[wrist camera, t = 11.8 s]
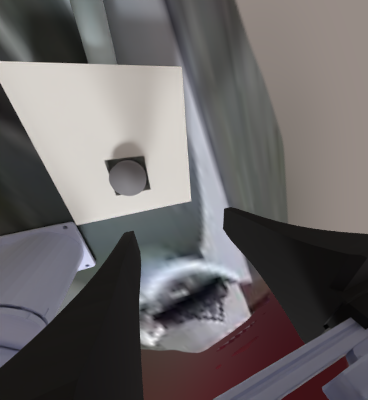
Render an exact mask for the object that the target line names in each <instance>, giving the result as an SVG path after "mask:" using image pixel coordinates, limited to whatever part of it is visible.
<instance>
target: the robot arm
mask: <svg viewBox="0 0 368 400" xmlns="http://www.w3.org/2000/svg"><path fill="white" fill-rule="evenodd" d="M64 226H67V227H68V228H66V227H64ZM223 229H224V231H225V232H226V234H227V235H228V237H229V238H230V240H231V241H232V242H233V243H234V244H235V245H236V246H237V248H238V249H239V250H240V251H241V252H242V253H243V254H244V255H245V256H246V258H247V259H248V260H249V261H250V262H251V263H252V265H253V266H254V267H255V268H256V270H257V271H258V273H259V274H260V275H261V277H262V278H263V279H264V281H265V282H266V284H267V285H268V287H269V288H270V289H271V291H272V292H273V294H274V295H275V297H276V299H277V300H278V301H279V303H280V305H281V306H282V308H283V309H284V311H285V313H286V314H287V316H288V317H289V319H290V321H291V322H292V324H293V326H294V327H295V329H296V331H297V332H298V334H299V336H300V338H301V339H302V340H303V341H304V343H305V345H304V346H302V347H300V348H299V349H297V350H295V351H294V352H292V353H290V354H288V355H287V356H285V357H283V358H282V359H280V360H278V361H277V362H275V363H273V364H272V365H270V366H268V367H267V368H265V369H263V370H262V371H260V372H258V373H257V374H255V375H253V376H252V377H250V378H248V379H247V380H245V381H243V382H242V383H240V384H238V385H236V386H235V387H233V388H232V389H230V390H228V391H226V392H225V393H223V394H221V395H220V396H218V397H216V398H215V399H213V400H280V399H281V398H283V397H285V396H286V395H287V394H289V393H290V392H292V391H293V390H295V389H296V388H298V387H299V386H301V385H302V384H304V383H305V382H307V381H308V380H310V379H311V378H312V377H314V376H315V375H317V374H318V373H320V372H321V371H322V370H324V369H326V368H327V367H328V366H330V365H331V364H333V363H334V362H336V361H337V360H339V359H340V358H342V357H343V356H345V355H346V359H347V361H348V363H349V367H348V368H347V369H346V370H344V371H343V372H342V373H340V374H339V375H338V376H337V377H335V378H334V379H333V380H331V381H330V382H329V383H327V384H326V385H325V386H323V387H322V388H323V392H324V393H325V394H326V395H327V397H328V399H329V400H368V234H360V233H347V232H336V231H327V230H319V229H312V228H306V227H300V226H296V225H291V224H286V223H282V222H278V221H274V220H271V219H267V218H264V217H261V216H257V215H254V214H251V213H248V212H245V211H242V210H239V209H236V208H232V207H229V208H225V209H224V223H223ZM87 264H88V265H87ZM95 264H96V261H95V260H94V258H93V256H92V254H91V252H90V250H89V249H88V247H87V245H86V243H85V241H84V239H83V237H82V236H81V234H80V232H79V230H78V228H77V226H76V224H75V223H73V222H66V223H61V224H56V225H51V226H47V227H42V228H37V229H32V230H27V231H22V232H17V233H13V234H8V235H3V236H0V400H144V399H143V384H142V367H141V349H140V325H139V294H140V277H141V256H140V250H139V247H138V243H137V240H136V237H135V234H134V231H130V232H126V233H124V234H123V236H122V237H121V239H120V240H119V242H118V243H117V245H116V246H115V248H114V249H113V251H112V252H111V254H110V255H109V257H108V258H107V260H106V261H105V262H104V264H103V265H102V266H101V268H100V269H99V270H98V272H97V273H96V274H95V275H94V277H93V278H92V279H91V280H90V281H89V282H88V284H87V285H86V286H85V287H84V288H83V289H82V290H81V291H80V293H79V294H78V295H77V296H76V297H75V298H74V299H73V300H72V301H71V302H70V303H69V304H68V305H67V306H66V307H65V308H64V309H63V310H62V311H61V312H60V313H59V314H58V315H57V316H56V314H57V312H58V310H59V308H60V305H61V303H62V301H63V299H64V297H65V295H66V293H67V291H68V289H69V287H70V285H71V283H72V281H73V279H74V277H75V275H76V272H77V271H79V270H83V269H86V268H90V267H93V266H95ZM55 316H56V317H55Z"/></svg>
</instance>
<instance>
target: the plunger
mask: <svg viewBox="0 0 368 400" xmlns="http://www.w3.org/2000/svg"><path fill="white" fill-rule="evenodd" d="M109 182H110V185H111V186H112V188H113V189H114V190H115V191H116V192H117V193H119V194H121V195H125V196H134V195H137V194H139V193H140V192H141V191H142V190H143V189H144V188H145V186H146V174H145V170H144V168H143V166H142V165H141V164H140V163H139V162H137V161H135V160H133V159H124V160H121V161H119V162H118V163H117V164H116V165H115V166H114V167H113V168H112V169H111V171H110V173H109Z"/></svg>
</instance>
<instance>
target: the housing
mask: <svg viewBox="0 0 368 400" xmlns="http://www.w3.org/2000/svg"><path fill="white" fill-rule="evenodd" d="M0 83H1V85H2V87H3V89H4V91H5V93H6V94H7V96H8V98H9V100H10V102H11V104H12V106H13V108H14V109H15V111H16V113H17V115H18V117H19V119H20V121H21V122H22V124H23V126H24V128H25V130H26V132H27V134H28V135H29V137H30V139H31V141H32V143H33V145H34V147H35V149H36V150H37V152H38V154H39V156H40V158H41V160H42V162H43V163H44V165H45V167H46V169H47V171H48V173H49V175H50V176H51V178H52V180H53V182H54V184H55V186H56V188H57V190H58V191H59V193H60V195H61V197H62V199H63V201H64V203H65V204H66V206H67V208H68V210H69V212H70V214H71V216H72V217H73V219H74V221H75V223H76V225H80V224H85V223H90V222H95V221H99V220H104V219H109V218H113V217H118V216H123V215H127V214H132V213H137V212H142V211H146V210H151V209H156V208H160V207H165V206H170V205H174V204H179V203H184V202H189V201H191V193H190V178H189V164H188V150H187V135H186V121H185V106H184V92H183V77H182V67H176V66H142V65H108V64H75V63H41V62H7V61H0ZM124 159H133V160H135V161H137V162H139V163H140V164H141V165H142V166H143V168H144V170H145V174H146V186H145V188H144V189H143V190H142V191H141V192H140V193H139V194H137V195H134V196H125V195H121V194H119V193H117V192H116V191H115V190H114V189H113V188H112V186H111V185H110V182H109V173H110V171H111V169H112V168H113V167H114V166H115V165H116V164H117V163H118V162H119V161H121V160H124Z"/></svg>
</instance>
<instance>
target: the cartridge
mask: <svg viewBox="0 0 368 400" xmlns="http://www.w3.org/2000/svg"><path fill="white" fill-rule="evenodd" d="M70 3H71V7H72V10H73V13H74V17H75V20H76V24H77V27H78V30H79V34H80V37H81V40H82V44H83V47H84V51H85V54H86V57H87V61H88V64H108V65H117V60H116V56H115V51H114V47H113V42H112V38H111V34H110V29H109V25H108V20H107V16H106V11H105V7H104V3H103V0H70Z"/></svg>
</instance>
